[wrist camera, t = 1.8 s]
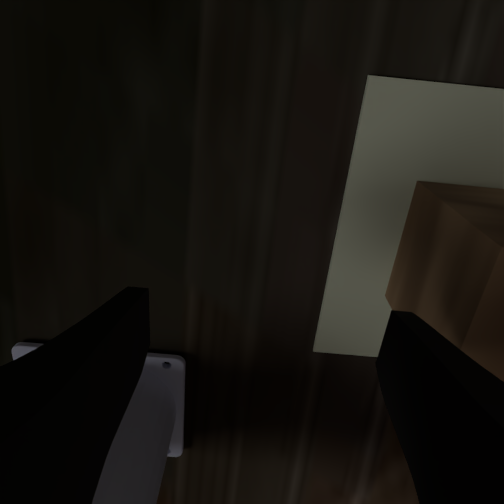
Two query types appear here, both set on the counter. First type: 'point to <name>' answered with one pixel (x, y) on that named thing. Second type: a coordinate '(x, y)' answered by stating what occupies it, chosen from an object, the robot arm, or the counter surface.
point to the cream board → (400, 192)
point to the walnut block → (455, 267)
